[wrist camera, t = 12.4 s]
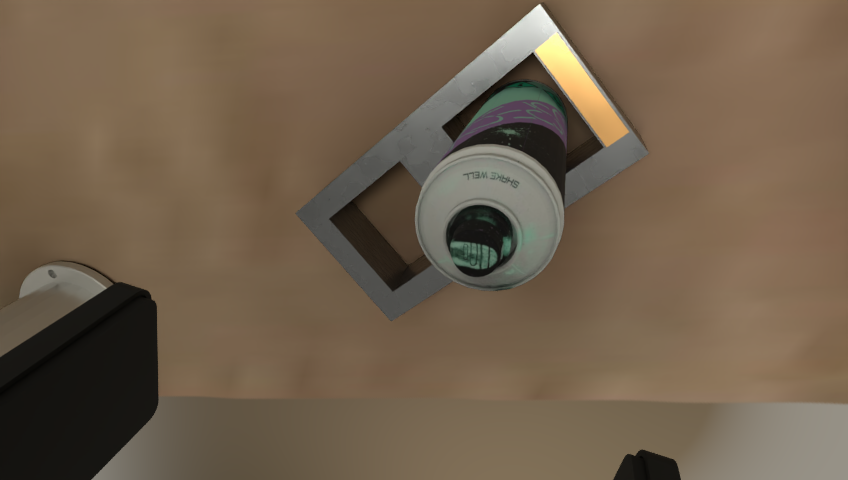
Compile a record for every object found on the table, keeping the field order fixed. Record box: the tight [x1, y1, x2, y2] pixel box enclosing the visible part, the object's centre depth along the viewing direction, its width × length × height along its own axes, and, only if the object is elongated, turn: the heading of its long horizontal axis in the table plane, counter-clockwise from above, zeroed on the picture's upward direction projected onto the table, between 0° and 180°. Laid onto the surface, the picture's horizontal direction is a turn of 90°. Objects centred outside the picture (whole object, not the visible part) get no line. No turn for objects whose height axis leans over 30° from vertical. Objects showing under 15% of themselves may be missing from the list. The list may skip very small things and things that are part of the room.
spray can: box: [415, 79, 567, 291], centre depth 27 cm, size 6×6×20 cm
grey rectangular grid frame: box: [295, 3, 649, 321], centre depth 36 cm, size 20×10×4 cm, turn 130°
